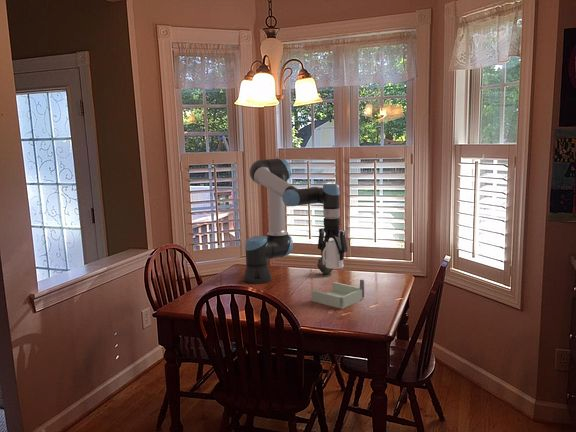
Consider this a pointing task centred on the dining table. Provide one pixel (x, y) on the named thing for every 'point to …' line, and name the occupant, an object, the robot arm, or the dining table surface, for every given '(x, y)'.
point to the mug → (331, 255)
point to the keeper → (340, 295)
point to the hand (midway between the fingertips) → (332, 265)
